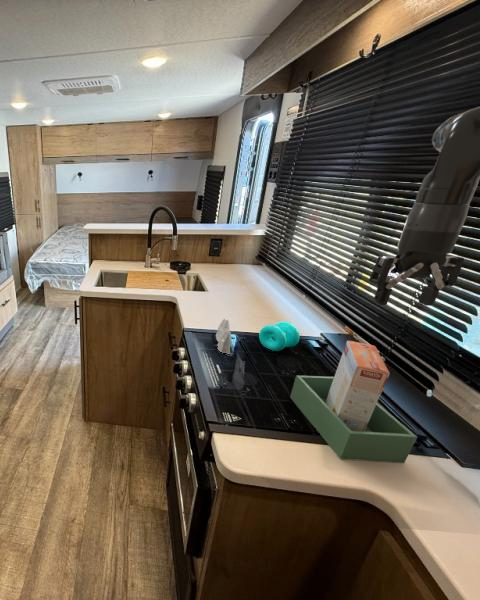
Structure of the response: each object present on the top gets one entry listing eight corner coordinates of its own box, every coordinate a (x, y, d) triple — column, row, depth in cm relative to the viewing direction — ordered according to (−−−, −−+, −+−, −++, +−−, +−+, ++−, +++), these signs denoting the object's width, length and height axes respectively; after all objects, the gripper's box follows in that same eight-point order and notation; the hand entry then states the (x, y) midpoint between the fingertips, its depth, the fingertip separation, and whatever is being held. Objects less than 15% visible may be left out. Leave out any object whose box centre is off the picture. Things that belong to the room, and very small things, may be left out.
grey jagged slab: (214, 338, 124) (218, 314, 120) (225, 340, 123) (230, 315, 118) (217, 354, 113) (222, 327, 109) (230, 355, 112) (235, 328, 108)
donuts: (297, 351, 114) (304, 327, 111) (279, 357, 111) (285, 332, 107) (273, 339, 123) (278, 316, 119) (255, 344, 119) (260, 321, 116)
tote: (339, 399, 89) (347, 377, 87) (404, 463, 69) (417, 437, 67) (289, 397, 91) (296, 375, 88) (340, 459, 71) (350, 433, 68)
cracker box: (360, 447, 73) (391, 373, 65) (328, 436, 76) (355, 365, 68) (351, 411, 84) (377, 344, 76) (323, 403, 87) (346, 338, 79)
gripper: (408, 230, 57) (379, 310, 63) (495, 229, 55) (458, 311, 61) (376, 225, 64) (353, 297, 70) (453, 223, 62) (423, 297, 68)
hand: (402, 303), depth 65 cm, fingers open, 8 cm apart
